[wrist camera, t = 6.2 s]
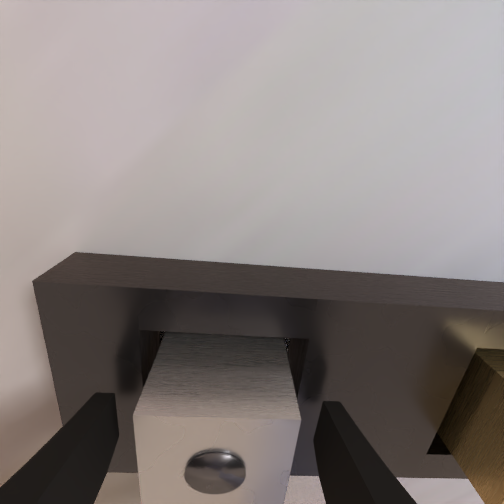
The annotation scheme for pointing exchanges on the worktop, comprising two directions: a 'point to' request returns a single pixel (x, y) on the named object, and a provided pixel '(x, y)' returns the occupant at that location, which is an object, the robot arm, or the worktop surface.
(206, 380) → the cube with round knob
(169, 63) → the worktop surface
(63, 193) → the worktop surface
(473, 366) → the yellow block with knob
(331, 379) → the dark grey socket board
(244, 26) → the worktop surface
